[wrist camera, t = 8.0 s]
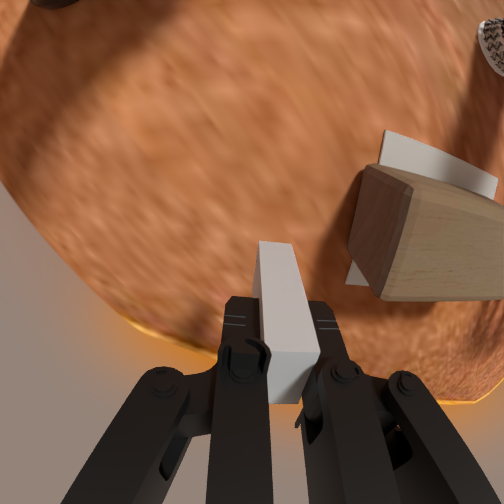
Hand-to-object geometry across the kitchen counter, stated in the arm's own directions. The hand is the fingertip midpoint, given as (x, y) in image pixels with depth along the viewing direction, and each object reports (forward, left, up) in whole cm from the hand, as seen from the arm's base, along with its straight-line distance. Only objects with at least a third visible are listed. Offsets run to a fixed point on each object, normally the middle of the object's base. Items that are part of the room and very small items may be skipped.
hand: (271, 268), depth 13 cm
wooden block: (0, +9, -10) cm, 14 cm away
